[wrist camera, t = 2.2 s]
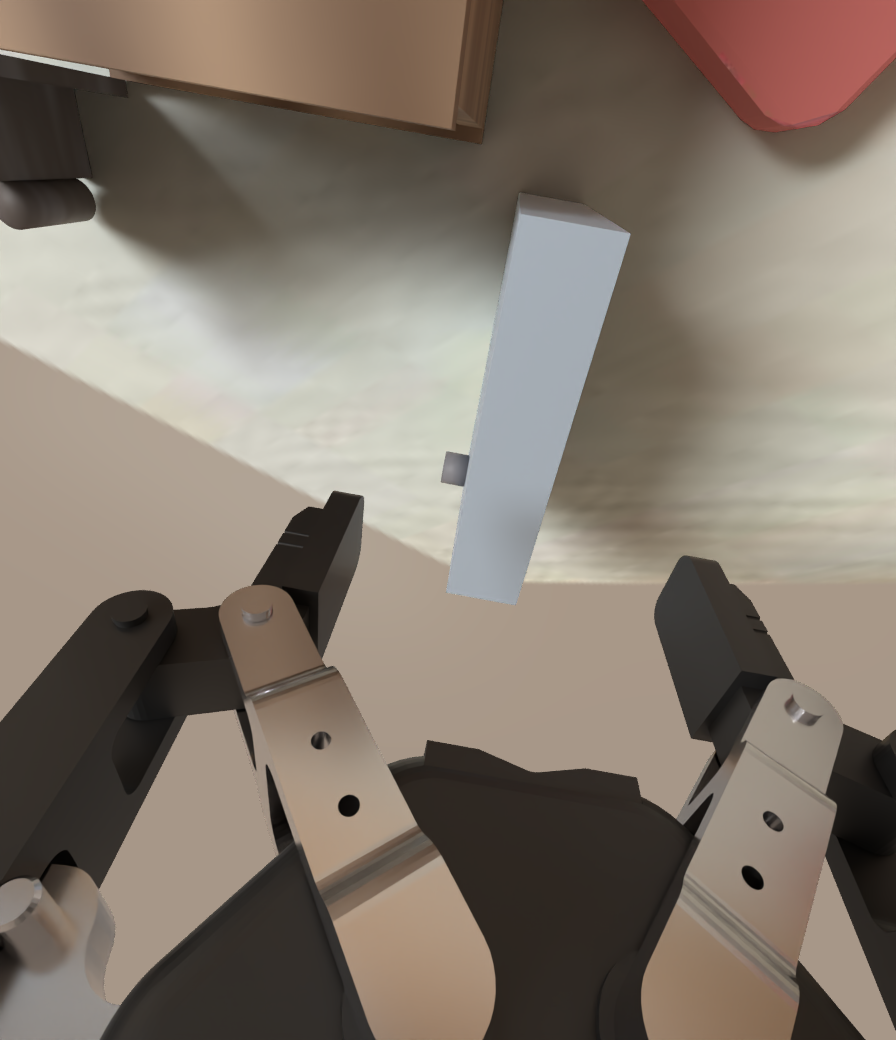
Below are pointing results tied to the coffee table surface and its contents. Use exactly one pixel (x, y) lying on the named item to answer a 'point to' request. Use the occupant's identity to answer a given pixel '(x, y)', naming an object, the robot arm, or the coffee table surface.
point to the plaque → (784, 53)
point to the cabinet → (231, 73)
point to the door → (530, 388)
